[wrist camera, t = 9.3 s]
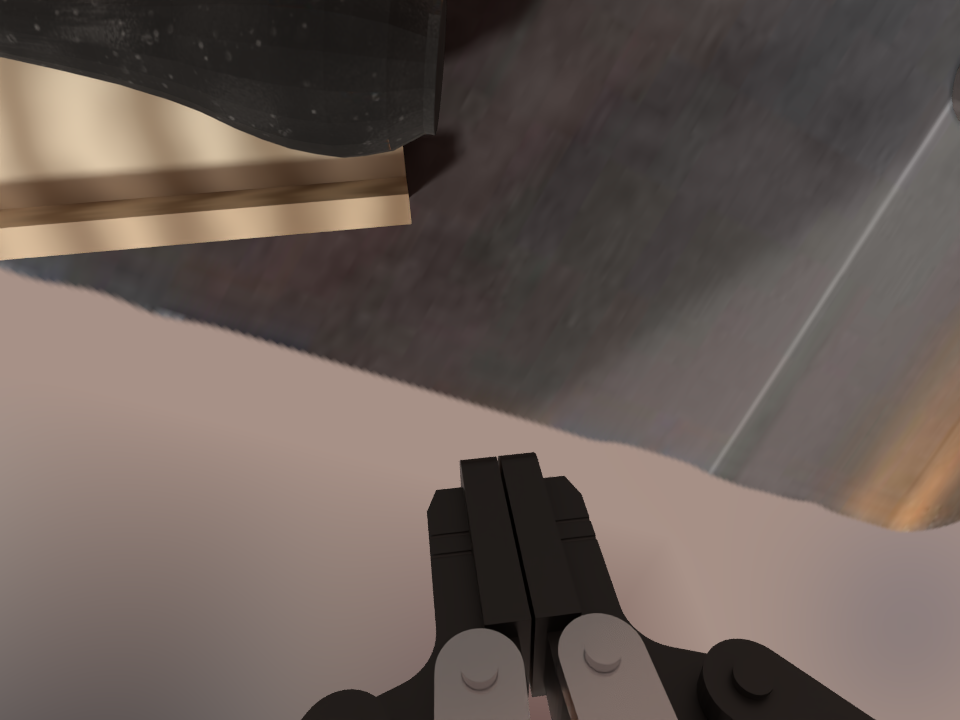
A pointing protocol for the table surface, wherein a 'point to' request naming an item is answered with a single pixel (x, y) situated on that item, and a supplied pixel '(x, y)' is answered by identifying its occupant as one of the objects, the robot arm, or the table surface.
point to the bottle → (256, 62)
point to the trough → (163, 173)
